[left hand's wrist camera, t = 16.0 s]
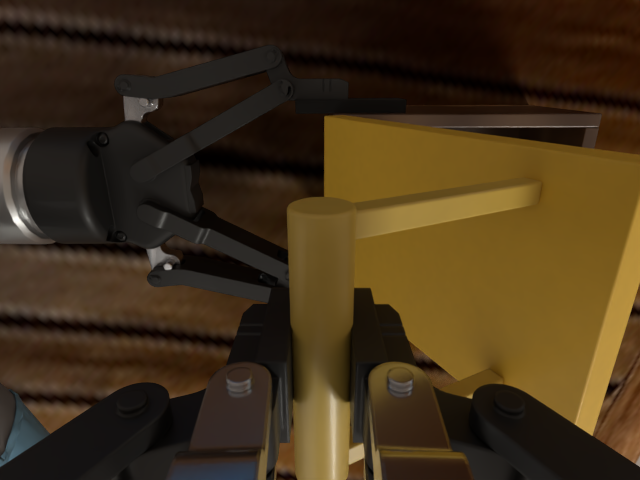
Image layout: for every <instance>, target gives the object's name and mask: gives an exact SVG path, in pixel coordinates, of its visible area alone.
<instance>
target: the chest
mask: <svg viewBox="0 0 640 480" xmlns="http://www.w3.org/2000/svg"><path fill="white" fill-rule="evenodd" d="M333 115H347V116H355V117H362V118H369V119H377V120H384V121H392V122H399V123H406V124H414V125H421V126H428V127H436V128H443V129H451V130H458V131H465V132H473V133H480V134H488V135H495V136H502V137H510V138H517V139H525V140H532V141H539V142H547V143H554V144H562V145H569V146H576V147H584V148H591V149H594V146H595V142H596V138H597V134H598V129H599V128H597V127H599V124H600V120H601V114H600V113H592V112H583V111H574V110H566V109H557V108H549V107H540V106H534V105H406V113H329V116H333Z"/></svg>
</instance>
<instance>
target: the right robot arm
mask: <svg viewBox="0 0 640 480" xmlns="http://www.w3.org/2000/svg"><path fill="white" fill-rule="evenodd" d="M264 72H267V74H268V77H269V79H270V82H271V85H269V86H268V87H266V88H264V89H263V90H261V91H259V92H257V93H256V94H254V95H252V96H251V97H249V98H247V99H245V100H244V101H242V102H240V103H239V104H237V105H235V106H233V107H232V108H230V109H228V110H227V111H225V112H223V113H221V114H220V115H218V116H216V117H215V118H213V119H211V120H209V121H208V122H206V123H204V124H203V125H201V126H199V127H197V128H196V129H194V130H192V131H191V132H189V133H187V134H185V135H183V136H181V137H180V138H178V139H176V140H175V139H173V138H172V137H170V136H169V135H167V134H166V133H164V132H163V131H161V130H160V129H158V128H157V127H155V126H154V125H152V124H151V123H149V122H148V121H147V116H148V114H149V113H150V112H152V111H156V110H159V109H160V108H161V107H162V105H163V98H169V97H176V96H181V95H185V94H189V93H192V92H196V91H199V90H203V89H207V88H210V87H214V86H217V85H221V84H224V83H228V82H232V81H235V80H239V79H242V78H246V77H250V76H253V75H257V74H260V73H264ZM114 85H115V89H116V90H117V92H118V93H119V94H121V95H122V96H123V97H124V112H125V121H123V122H121V123H120V124H118V125H117V126H115V127H56V128H49V129H46V130H44V129H41V128H0V244H50V243H54V242H58V243H64V244H79V243H121V242H128V243H132V244H135V245H138V246H140V247H142V248H145V249H146V250H147V253H148V257H149V261H150V264H151V268H152V271H151V272H150V273H149V274H148V276H147V280H148V282H149V284H150V285H152V286H154V287H163V286H173V285H186V286H191V287H195V288H200V289H205V290H209V291H214V292H219V293H224V294H228V295H233V296H238V297H242V298H247V299H252V300H257V301H261V302H266V303H268V301H269V296H270V292H271V288H289V262H288V250H286V249H284V248H282V247H280V246H277V245H275V244H273V243H271V242H269V241H267V240H265V239H263V238H261V237H259V236H256V235H254V234H252V233H250V232H248V231H246V230H244V229H242V228H240V227H238V226H235V225H233V224H231V223H229V222H227V221H225V220H223V219H221V218H219V217H217V215H216V214H215V213H214V212H212V211H210V210H208V209H206V208H204V207H202V206H203V204H204V203H203V194H202V191H201V188H200V186H199V183H198V181H199V175H200V166H199V160H196V158H195V156H194V154H195V153H196V152H198V151H200V150H201V149H203V148H205V147H207V146H208V145H210V144H212V143H214V142H215V141H217V140H219V139H221V138H222V137H224V136H226V135H228V134H229V133H231V132H233V131H235V130H236V129H238V128H240V127H242V126H243V125H245V124H247V123H249V122H250V121H252V120H254V119H256V118H257V117H259V116H261V115H263V114H264V113H266V112H268V111H270V110H271V109H273V108H275V107H277V106H278V105H280V104H282V103H284V102H285V101H287V100H295V104H296V114H308V113H406V100H405V99H401V98H348V82H346V81H344V80H342V79H298V78H296V77H294V76H293V75H292V74H291V73H290V71H289V68H288V66H287V63H286V60H285V58H284V54H283V52H282V51H281V50H280V49H279V48H278V47H276V46H274V45H267V46H263V47H260V48H256V49H253V50H249V51H245V52H242V53H238V54H235V55H231V56H228V57H224V58H221V59H217V60H214V61H210V62H207V63H203V64H200V65H196V66H193V67H189V68H186V69H182V70H179V71H175V72H172V73H168V74H165V75H161V76H157V77H155V76H145V75H125V74H124V75H119V76H118V77H117V78H116V79H115V83H114ZM174 235H177V236H179V237H182V238H184V239H186V240H188V241H190V242H193V243H196V244H205V245H207V246H209V247H211V248H214V249H216V250H218V251H220V252H222V253H225V254H227V255H229V256H231V257H233V258H235V259H238V260H240V261H242V262H244V263H246V264H248V265H251V266H253V267H255V268H257V269H253V268H249V267H244V266H240V265H235V264H231V263H226V262H222V261H217V260H213V259H208V258H203V257H198V256H189V255H186V256H183V254H182V252H181V251H180V250H172V249H170V248H168V247H167V246H166V244H165V242H166V241H168V240H169V239H170V238H172V237H173V236H174ZM258 269H259V270H258ZM48 435H50V433H49V432H48V431H47V430H46V429H45V428H44V427H43V425H42V424H41V423H40V422H39V421H38V420H37V419H36V417H35V416H34V415H33V414H32V413H31V412H30V410H29V409H28V408H27V407H26V406H25V405H24V403H23V402H22V401H21V399H20V398H19V395H18V394H17V393H15V392H13V391H12V389H7V388H6V387H4V386H3V385H2V384H1V383H0V467H1V466H3V465H4V464H6V463H7V462H9V461H10V460H12V459H13V458H15V457H16V456H18V455H19V454H21V453H22V452H24V451H25V450H27V449H28V448H30V447H32V446H33V445H35V444H36V443H38V442H39V441H41V440H42V439H44V438H45V437H47V436H48Z"/></svg>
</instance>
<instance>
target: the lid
mask: <svg viewBox="0 0 640 480" xmlns="http://www.w3.org/2000/svg"><path fill="white" fill-rule="evenodd" d="M287 231H288V262H289V293H290V323H291V337H292V370H293V416H294V447H295V473H296V477H297V479H298V480H346V479H347V476H348V470H349V465H350V464H352V463H354V462H356V461H359V460H361V459H363V458H364V455H365V454H364V446H363V443H353V438H352V427H351V426H350V404H349V394H350V362H351V331H352V326H353V310H354V288H371V291H372V295H373V299H374V304H389V305H390V306H391V307H392V308H394V309H395V310H396V311H397V312H398V313H399V315H400V318H401V321H402V324H403V327H404V330H405V333H406V336H407V339H408V340H409V341H410V342H411V343H413V344H414V345H415V346H416V347H418V348H419V349H420V350H421V351H422V352H424V353H425V354H426V355H427V356H429V357H430V358H431V359H432V360H433V361H435V362H436V363H437V364H438V365H440V366H441V367H442V368H443V369H444V370H446V371H447V372H448V373H449V374H451V375H452V376H453V377H454V378H456V379H457V380H458V381H457V382H455V383H452V384H450V385H448V386H445V387H443V388H441V389H439V390H441V391H444V392H447V393H450V394H454V395H458V396H463V397H467V398H471V399H472V396H473V393H474V391H475V390H476V389H477V388H479V387H480V386H483V385H486V384H505V385H509V386H513V387H515V388H518V389H520V390H522V391H524V392H526V393H528V394H529V395H531V396H532V397H534V398H535V399H537V400H538V401H540V402H541V403H543V404H545V405H546V406H548V407H549V408H551V409H552V410H554V411H555V412H557V413H558V414H560V415H561V416H563V417H564V418H566V419H567V420H569V421H570V422H572V423H573V424H575V425H577V426H578V427H580V428H581V429H583V430H584V431H586V432H587V433H589V434H590V435H593V432H594V428H595V425H596V422H597V419H598V416H599V412H600V409H601V406H602V403H603V399H604V396H605V393H606V390H607V386H608V383H609V380H610V377H611V374H612V370H613V367H614V364H615V361H616V357H617V354H618V351H619V348H620V344H621V341H622V338H623V335H624V332H625V328H626V325H627V322H628V319H629V315H630V312H631V309H632V306H633V302H634V299H635V296H636V293H637V290H638V286H639V283H640V155H636V154H628V153H621V152H613V151H606V150H599V149H591V148H584V147H576V146H569V145H562V144H554V143H547V142H539V141H532V140H525V139H517V138H510V137H502V136H495V135H488V134H480V133H473V132H465V131H458V130H451V129H443V128H436V127H428V126H421V125H414V124H406V123H399V122H392V121H384V120H377V119H369V118H362V117H355V116H347V115H333V116H325V117H324V197H311V198H304V199H300V200H297V201H294V202H292V203H290V204H289V205H288V208H287Z"/></svg>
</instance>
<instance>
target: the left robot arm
mask: <svg viewBox="0 0 640 480" xmlns="http://www.w3.org/2000/svg"><path fill="white" fill-rule="evenodd" d="M349 404H350V415H351V427H352V438H353V443H363V446H364V454H365V455H364V480H640V467H639V466H637V465H636V464H634V463H633V462H631V461H630V460H628V459H627V458H625V457H624V456H622V455H621V454H619V453H618V452H616V451H615V450H613V449H612V448H610V447H608V446H607V445H605V444H604V443H602V442H601V441H599V440H598V439H596V438H595V437H593V436H592V435H590V434H589V433H587V432H586V431H584V430H583V429H581V428H580V427H578V426H577V425H575V424H573V423H572V422H570V421H569V420H567V419H566V418H564V417H563V416H561V415H560V414H558V413H557V412H555V411H554V410H552V409H551V408H549V407H548V406H546V405H545V404H543V403H541V402H540V401H538V400H537V399H535V398H534V397H532V396H531V395H529V394H528V393H526V392H524V391H522V390H520V389H518V388H515V387H513V386H509V385H505V384H486V385H483V386H480V387H479V388H477V389H476V390H475V391H474V393H473V396H472V399H471V398H467V397H463V396H458V395H454V394H450V393H447V392H444V391H441V390H439V389H437V388H435V387H434V386H433V385H432V382H431V380H430V378H429V376H428V375H427V374H426V373H425V372H424V371H422V370H421V369H419V368H418V367H417V365H416V362H415V359H414V356H413V354H412V351H411V348H410V345H409V342H408V339H407V336H406V333H405V330H404V327H403V324H402V321H401V318H400V315H399V313H398V312H397V311H396V310H395V309H394V308H392V307H391V306H390V305H389V304H374V299H373V295H372V291H371V288H354V310H353V326H352V331H351V362H350V394H349ZM292 409H293V370H292V337H291V323H290V293H289V288H271V292H270V296H269V301H268V304H253V305H252V306H251V307H250V308H249V309H247V310H246V311H245V312H244V313H243V316H242V319H241V322H240V326H239V328H238V331H237V336H236V337H235V340H234V343H233V346H232V349H231V352H230V355H229V358H228V361H227V365H226V366H224V367H222V368H221V369H219V370H218V371H216V372H215V373H214V374H213V375H212V376H211V378H210V380H209V382H208V385H207V388H206V389H204V390H201V391H199V392H196V393H193V394H189V395H184V396H180V397H176V398H172V399H170V398H169V393H168V391H167V390H166V389H165V388H164V387H163V386H161V385H159V384H156V383H148V382H147V383H137V384H132V385H129V386H126V387H123V388H121V389H119V390H117V391H116V392H114V393H112V394H111V395H109V396H108V397H106V398H105V399H103V400H102V401H100V402H99V403H97V404H95V405H94V406H92V407H91V408H89V409H88V410H86V411H85V412H83V413H82V414H80V415H79V416H77V417H76V418H74V419H73V420H71V421H70V422H68V423H67V424H65V425H63V426H62V427H60V428H59V429H57V430H56V431H54V432H53V433H51V434H50V435H48V436H47V437H45V438H44V439H42V440H41V441H39V442H38V443H36V444H35V445H33V446H32V447H30V448H28V449H27V450H25V451H24V452H22V453H21V454H19V455H18V456H16V457H15V458H13V459H12V460H10V461H9V462H7V463H6V464H4V465H3V466H1V467H0V480H276V462H277V459H278V453H279V444H280V443H290V433H291V421H292Z"/></svg>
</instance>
